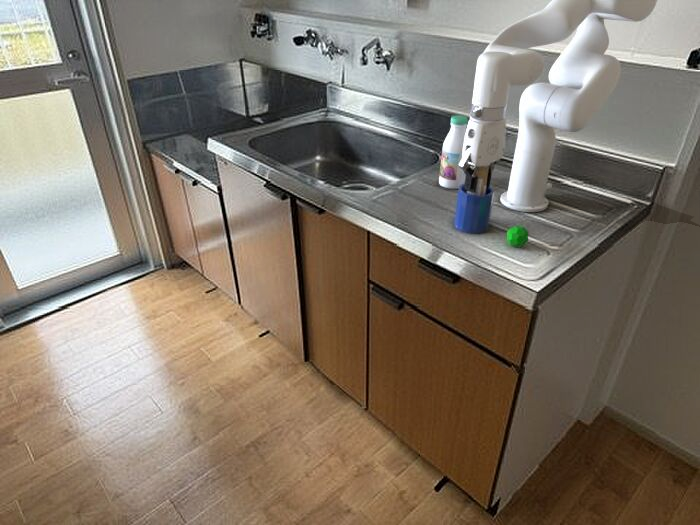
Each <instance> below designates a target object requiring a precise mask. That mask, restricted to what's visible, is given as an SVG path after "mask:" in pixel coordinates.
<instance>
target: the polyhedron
mask: <svg viewBox="0 0 700 525" xmlns="http://www.w3.org/2000/svg"><path fill="white" fill-rule="evenodd" d="M506 242H507V243H508V244H509V245H510V246H512V247H515V248H519V247H522V246H524V245H526V244H527V243H528V242H529V231H528V229H526V228H525V227H524V226H521V225H515V226H512V227H510V228H509V229H508V230H507V232H506Z"/></svg>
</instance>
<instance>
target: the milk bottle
mask: <svg viewBox="0 0 700 525" xmlns="http://www.w3.org/2000/svg"><path fill="white" fill-rule="evenodd" d="M468 122H469V118H468V116H466V115H460V114H457V115H452V116H451V118H450V129H449V132H448V133H447V135H446V137H445V139H444V141H443V143H442V144H443V145H442V150H441V158H440V166H439V177H438V183H439V186H441V187H444V188H446V189H453V190H454V189H457V190H458V188H459V186H460V185H461V184H464V183H465V176H466V175H465V174H464V171H463V170H462V169H461V168H460V167H459V164H460V162H461V160H462V150H463V143H464V138H465V134H466V129H467V126H468Z"/></svg>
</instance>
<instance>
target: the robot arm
mask: <svg viewBox="0 0 700 525" xmlns="http://www.w3.org/2000/svg"><path fill="white" fill-rule="evenodd" d="M657 3H658V0H551V1H549V3H548V4H547V5H545V7H544V8H543V9H542V10H539V11H537V12H534V13H532V14H530V15H528V16H526V17H524V18H522V19H519V20H518V21H516V22H513V23H512V24H510V25H508V26H507V27H505V28H504V29H503V30H501V31H500V32H499V33H498V34H497V35H496V36H495V37H494V39H492V41H491V42H490V43H489V44H487V47H486V48H485V49H484V50H483V52H482V53H481V54H479V56H478V58H477V61H476V67H475V76H474V84H473V92H472V98H471V108H470V114H469V118H468V123H467V126H466V134H465V138H464V143H463V150H462V160H461V162H460V164H459V167H460V168H461V169H462V170H463V171H464V174H465V175H466V176H465V184H464V189H465V190H467V191H469V192H472V193H475V192H476V187H477V180H478V177H476V175H477V172H478V168H479V167H480V166H483V165H486V164H489V163H490V166H489V170H488V176H487V184H486V188H488V187H489V186H491V182H492V181H491V180H492V174H493V171H495V166H496V164H497V162H498V161H499V160H501V159H502V158H503V157H504V151H505V146H506V135H507V118H506V112H507V107H508V100H509V93H510V89H511V88H512V87H513V88H515V87H518V88H524V87H526V88H525V89H524V91H522V93H521V96H520V100H519V104H518V108H519V109H518V112H519V113H518V114H519V115H518V116H519V124H518V132H517V139H516V143H515V144H516V145H515V148H514V155H513V160H512V166H511V171H510V176H509V182H508V188H507V191H504V192H502V193H501V195H500V203H501V204H502V205H503V206H505V207H506V208H508V209H511V210H513V211H517V212H522V213H539V212H542V211H545V210H546V209H547V208H548V207H549V199H548V198H546V196H545V193H547V192H548V191H550V190H552V189H553V184H552V183H550V182H548V179H549V175H550V171H551V168H552V167H551V166H552V163H553V158H554V154H555V149H556V146H557V137H556V132H555V129H558V130H561V131H565V132H568V133H569V132H570V133H578V132H580V131H582V130H583V129H585V128H586V126H588V124H590V122H591V121H592V120H593V119H594V117H595V116H596V115H597V113H598V112H599V111H600V109H601V108H602V107H603V105H604V104H605V102H606V101H607V100H608V98H610V96H611V95H612V93H613V91H614V90H615V88H616V87H617V84H618V82H619V80H620V78H621V72H622V66H621V63H620V61H619V60H618V58H617V57H615V56H613V55H611V54H606V51H607V50H608V48H609V44H610V38H609V33H608V30H607V28H606V26H605V20H610V21H621V22H622V21H623V22H631V23H632V22H633V23H637V22H642V21H644V20H645V19H647V18H648V17H649V16H650V15H651V14H652V12H653V11H654V9H655V7H656V5H657ZM575 31H576V32H575ZM574 32H575V34H574ZM572 34H574V36H573V38H572V39H571V40H570V42H568V44H567V46H565V47H564V50H563V51H562V52H561V53H560V55H559V56H558V57H557V59H556V60H555V61H554V62H553V64H552V65H551V68H550V70H549V72H548V81H549V82H539V80H540V79H541V78H542V76H543V74H544V73H545V69H546V61H545V59H544V57H543V55H542V54H541V53H540V52H538V51H536V50H533V49H531V48H537V47H542V46H548V45H553V44H557V43H559V42H560V43H561V42H562V41H565V40H567V39H568V38H569V37H571V35H572ZM471 165H472V166H474V168H473V170H472V168H471Z"/></svg>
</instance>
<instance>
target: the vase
mask: <svg viewBox="0 0 700 525" xmlns="http://www.w3.org/2000/svg"><path fill="white" fill-rule="evenodd" d="M464 184H465V183H464ZM464 184H461V185H460V186H459V188H457V197H456V205H455V212H454V222H453V225H454V227H455V229H457V230H458V231H459V232H463V233H465V234H466V233H467V234H473V235H474V234H475V235H476V234H482V233H485V232H486V231H487V230H489V226H490V220H491V215H492V210H493V209H492V208H493V202H494V197H495V189H494V188H493V187H492V186H491V185H490V186H489V187H488V188H486V192H485V195H472V194H468V193H467V190H465V189H464Z"/></svg>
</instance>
